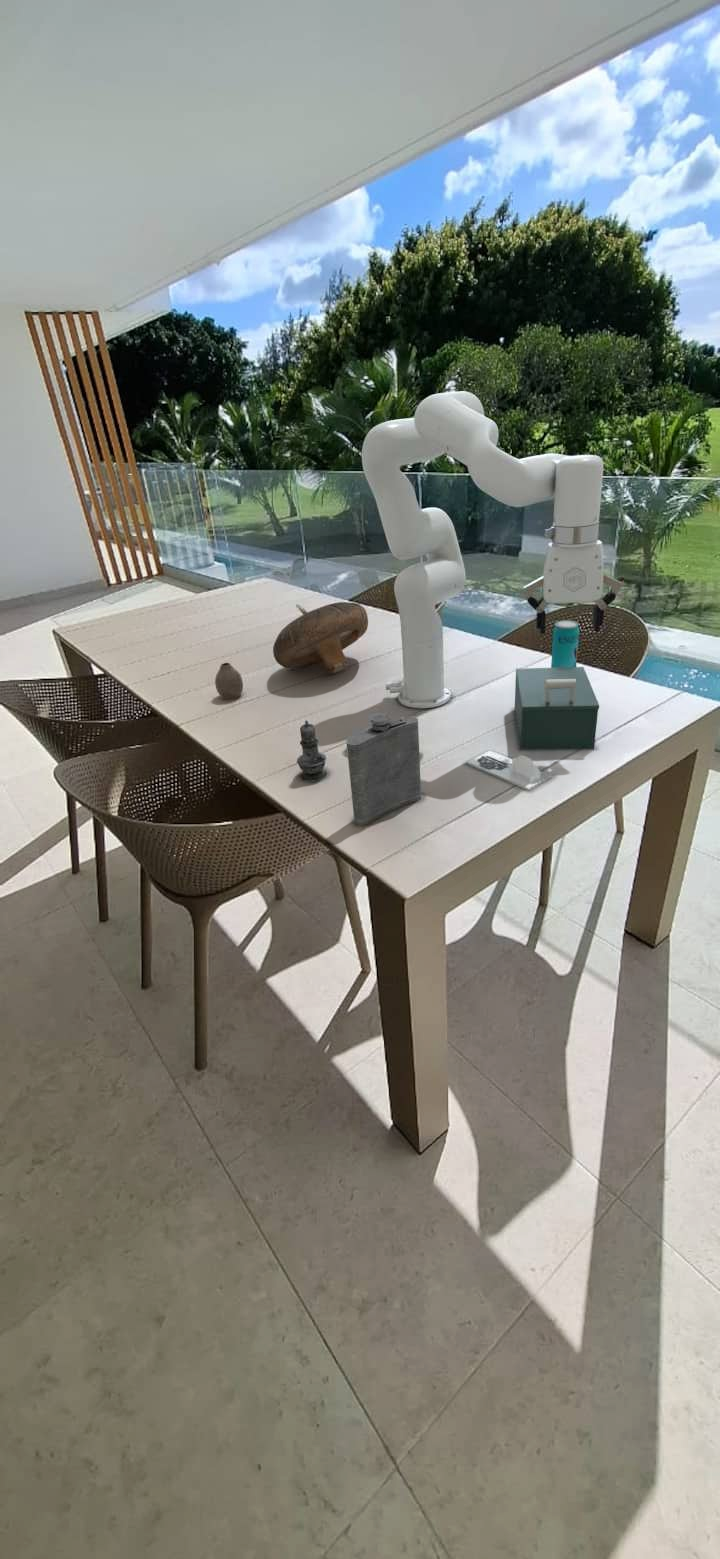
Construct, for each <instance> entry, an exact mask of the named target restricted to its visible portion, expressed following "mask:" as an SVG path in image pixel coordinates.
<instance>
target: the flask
mask: <svg viewBox="0 0 720 1559" xmlns="http://www.w3.org/2000/svg"><path fill="white" fill-rule="evenodd" d="M390 718H391V716H390V715H389V714H388V713H383V712H382V713H375V714H373V715H371V716H370V719H369V720H370V723H371V727H370V728H368V729H365V730H363V731H361V732H358V733H357V734H354V735H353V736H350V737H349V738H348V739H346V740H345V742H346V752H347V763H348V772H349V781H350V791H351V801H352V810H353V821H354V824H356V825H358V826H366V825H368V824H370V823H371V822H373V821H374V820H376V819H377V818H379V817H381V816H383V815H385V814H387V813H389V812H391V811H394V810H395V809H398V808H401V807H403V806H406V805H408V804H411V803H415V802H418V801H420V800H421V799H422V785H421V784H422V782H421V761H420V760H421V758H420V757H421V756H420V737H419V736H420V735H419V718H418V717H416V716H413V715H407V716H404V717H403V716H402V717H400V718H396V719H390Z"/></svg>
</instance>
